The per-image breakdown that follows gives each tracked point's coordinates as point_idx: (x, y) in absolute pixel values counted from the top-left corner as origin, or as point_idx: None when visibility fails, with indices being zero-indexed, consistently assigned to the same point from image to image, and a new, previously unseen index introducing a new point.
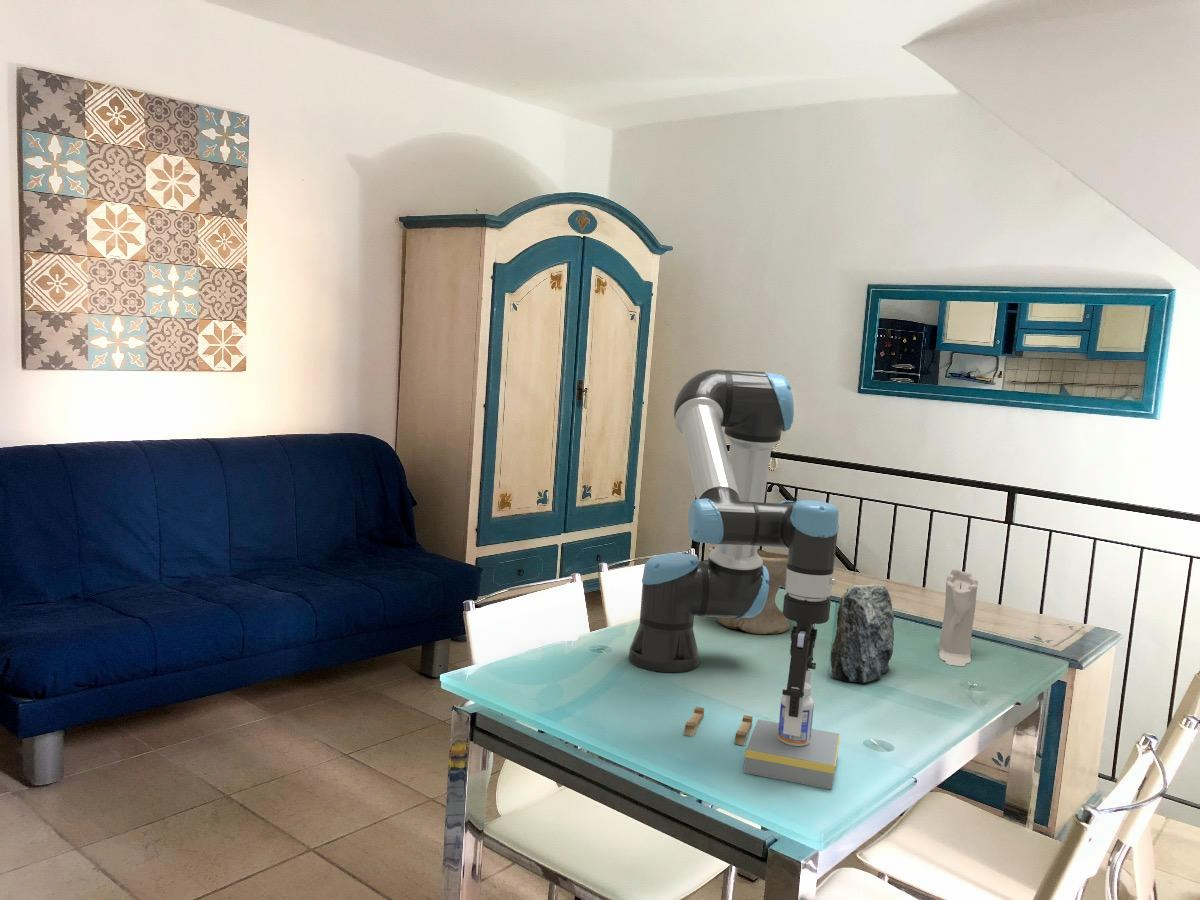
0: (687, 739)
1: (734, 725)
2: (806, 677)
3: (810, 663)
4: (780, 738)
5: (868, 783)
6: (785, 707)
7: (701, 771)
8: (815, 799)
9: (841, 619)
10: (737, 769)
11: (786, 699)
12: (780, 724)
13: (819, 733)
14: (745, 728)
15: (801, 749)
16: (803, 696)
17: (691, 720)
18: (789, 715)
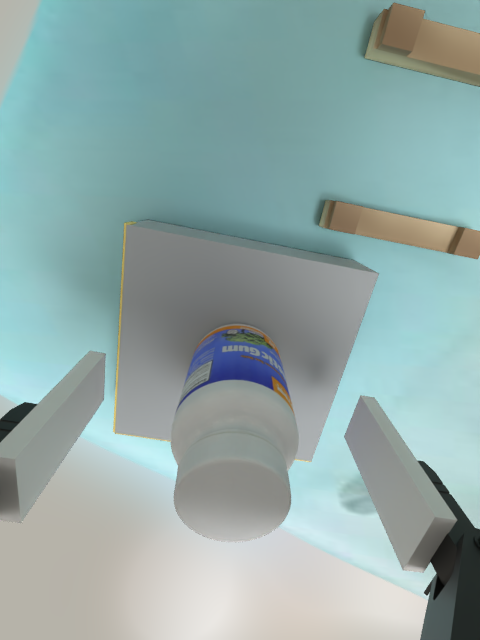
0: (338, 36)
1: (461, 204)
2: (395, 524)
3: (424, 619)
4: (215, 330)
5: None
6: (34, 407)
7: (112, 91)
8: (74, 365)
9: None
10: (162, 202)
11: (6, 436)
12: (218, 345)
13: (301, 422)
14: (401, 234)
15: (183, 374)
16: (5, 520)
17: (458, 37)
18: (21, 407)
